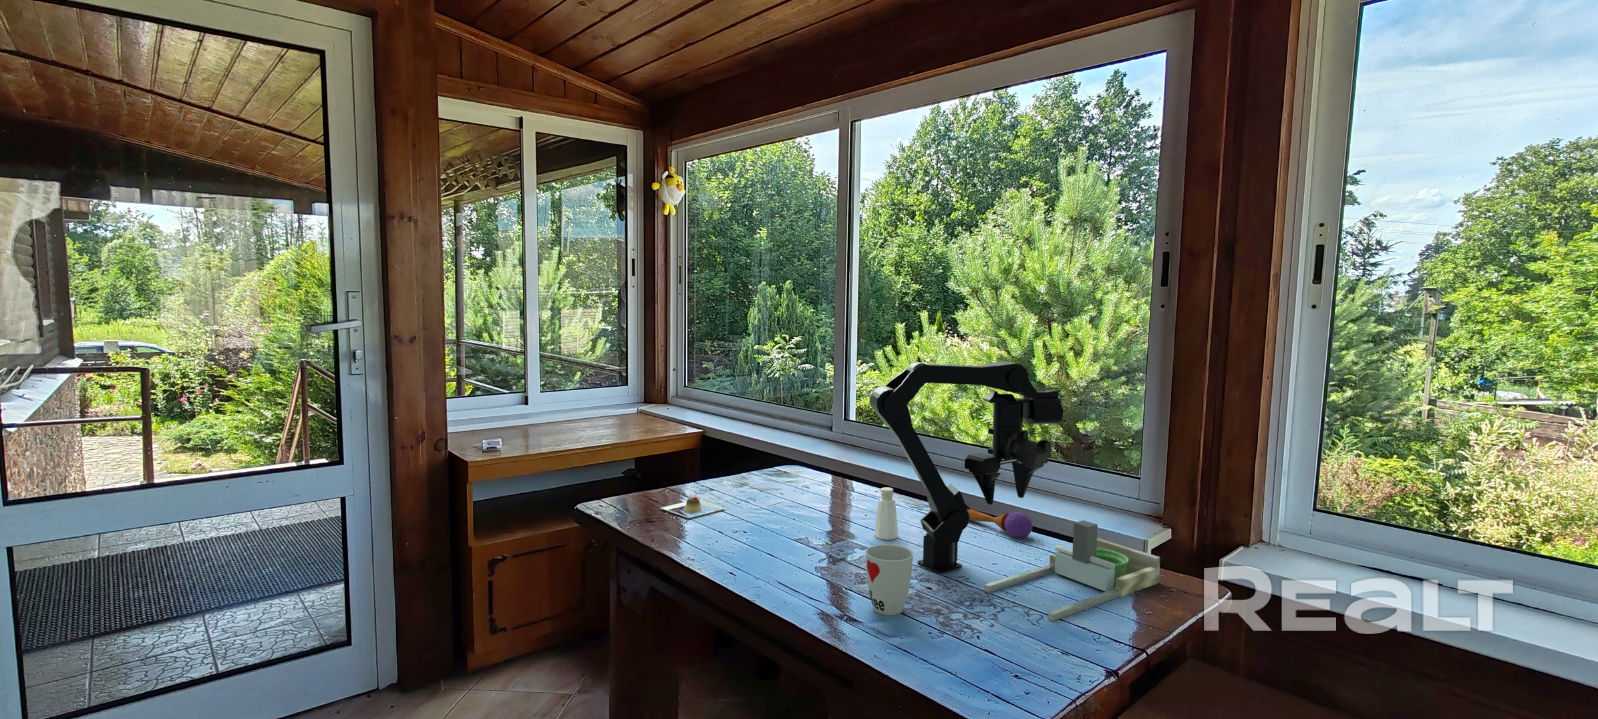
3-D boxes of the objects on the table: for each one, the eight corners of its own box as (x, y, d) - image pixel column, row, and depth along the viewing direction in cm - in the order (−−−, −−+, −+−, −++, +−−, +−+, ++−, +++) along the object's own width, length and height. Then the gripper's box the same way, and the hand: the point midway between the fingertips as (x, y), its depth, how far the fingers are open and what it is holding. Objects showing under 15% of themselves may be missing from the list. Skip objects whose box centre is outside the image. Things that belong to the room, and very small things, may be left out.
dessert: (726, 512, 181) (726, 493, 181) (688, 522, 173) (688, 502, 172) (697, 502, 190) (697, 485, 189) (659, 512, 181) (659, 493, 181)
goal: (1054, 621, 118) (1055, 592, 118) (983, 590, 131) (983, 563, 131) (1158, 582, 136) (1160, 557, 135) (1087, 558, 148) (1088, 534, 148)
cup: (861, 599, 127) (861, 544, 126) (905, 598, 127) (906, 543, 127) (869, 619, 119) (870, 561, 118) (917, 618, 119) (918, 560, 119)
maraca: (970, 500, 178) (1038, 514, 161) (968, 525, 177) (1036, 541, 161) (954, 500, 174) (1022, 513, 158) (952, 524, 174) (1019, 541, 157)
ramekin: (1069, 577, 138) (1070, 555, 138) (1089, 565, 144) (1090, 544, 144) (1115, 591, 132) (1117, 567, 131) (1135, 578, 138) (1136, 556, 138)
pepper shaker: (899, 540, 159) (900, 491, 158) (875, 539, 159) (876, 491, 158) (896, 532, 164) (897, 485, 164) (873, 532, 165) (874, 485, 164)
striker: (1107, 592, 129) (1109, 533, 129) (1051, 571, 139) (1053, 516, 139) (1117, 589, 131) (1119, 530, 130) (1061, 568, 141) (1063, 514, 140)
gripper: (1008, 435, 131) (1005, 518, 132) (1071, 426, 141) (1068, 503, 142) (963, 426, 140) (961, 504, 141) (1025, 418, 151) (1023, 491, 152)
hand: (1005, 500), depth 144 cm, fingers open, 9 cm apart
